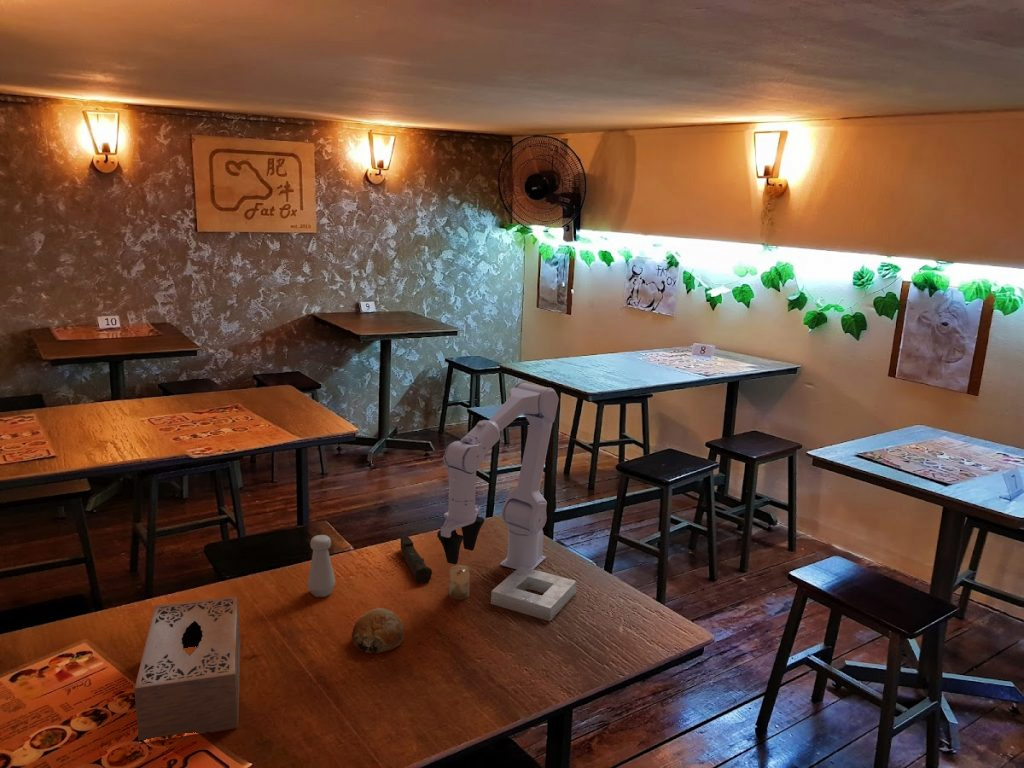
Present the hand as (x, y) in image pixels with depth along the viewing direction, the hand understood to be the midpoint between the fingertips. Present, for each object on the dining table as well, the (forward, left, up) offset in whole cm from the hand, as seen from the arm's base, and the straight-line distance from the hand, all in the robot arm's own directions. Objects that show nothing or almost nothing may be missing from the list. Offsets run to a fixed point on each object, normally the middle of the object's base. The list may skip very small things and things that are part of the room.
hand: (460, 556), depth 164 cm
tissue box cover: (+52, -22, -10) cm, 57 cm away
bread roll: (+24, -4, -10) cm, 26 cm away
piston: (0, 0, -9) cm, 9 cm away
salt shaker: (+15, -26, -10) cm, 32 cm away
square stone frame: (-7, +15, -9) cm, 19 cm away
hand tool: (-6, -17, -10) cm, 21 cm away
